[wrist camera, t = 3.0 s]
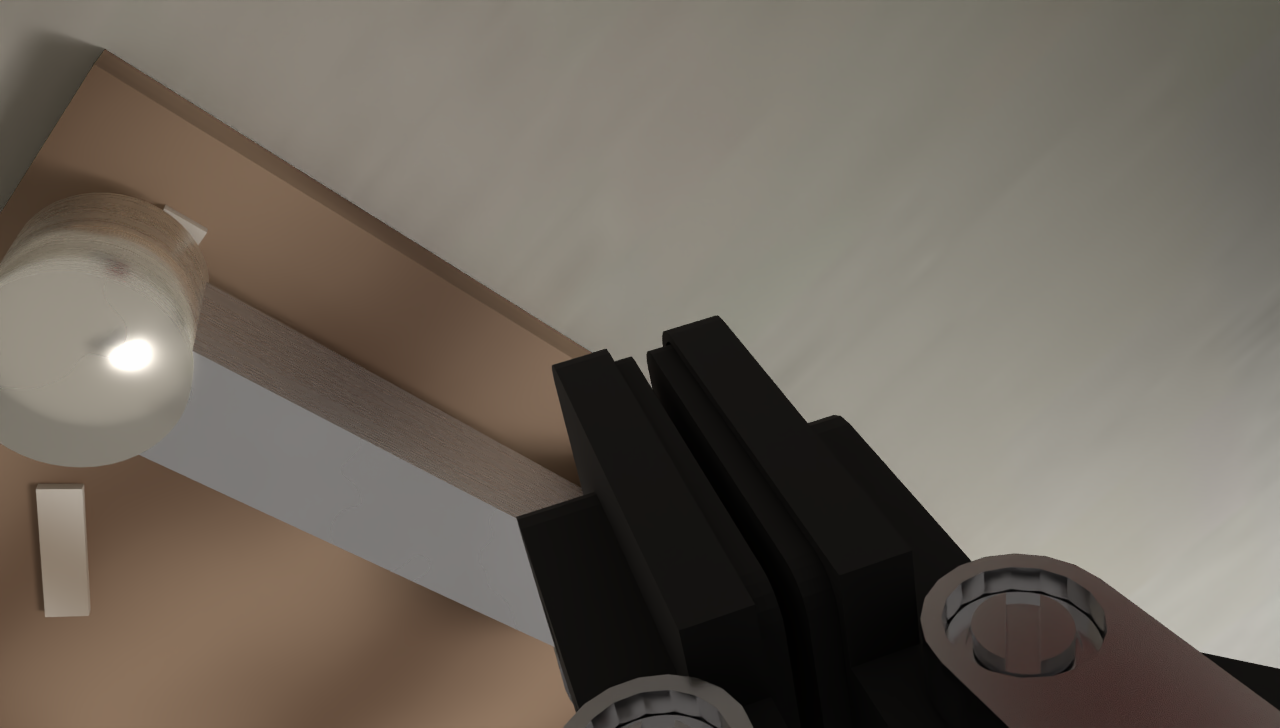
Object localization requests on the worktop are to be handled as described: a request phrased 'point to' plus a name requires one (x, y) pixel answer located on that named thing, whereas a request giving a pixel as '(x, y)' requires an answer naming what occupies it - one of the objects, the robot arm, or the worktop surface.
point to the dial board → (235, 532)
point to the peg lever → (251, 408)
